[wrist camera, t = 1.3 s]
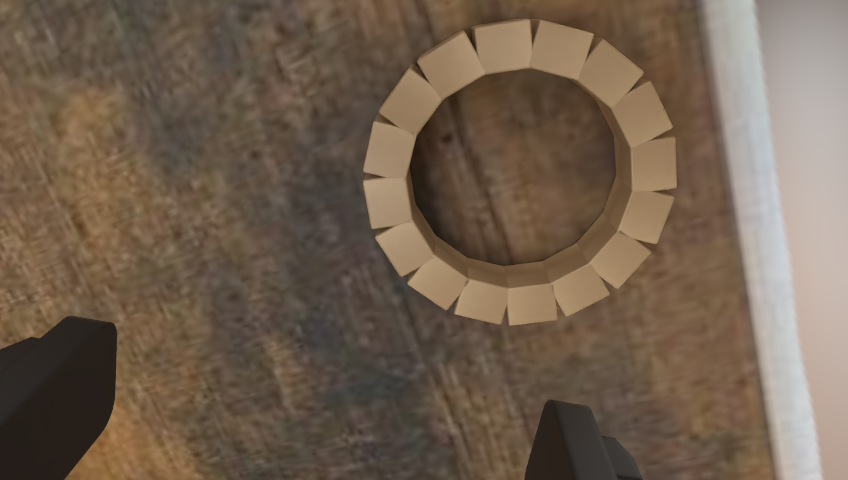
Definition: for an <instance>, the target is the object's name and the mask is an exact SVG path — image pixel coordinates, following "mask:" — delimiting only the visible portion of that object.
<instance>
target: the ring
mask: <svg viewBox="0 0 848 480" xmlns="http://www.w3.org/2000/svg"><path fill="white" fill-rule="evenodd" d="M471 32H472V40H473V45H472V43H471V42H470V40H469V38H468V36H467V34H466V33H465V32H464V31H463V30H460V31H459V32H457V33H455V34H454V35H452V36H451V37H449V38H447V39H446V40H444V41H443V42H441V43H439V44H438V45H436V46H435V47H433V48H431V49H430V50H428V51H427V52H425V53H423V54H422V55H420V56H419V58H418V60H417V63H418V65H419V66H420V68H421V69H420V68H418V67H417V66H416V65H415V64H411V65H410V66H409V68H408V69H407V70H406V72H405V73H404V75H403V76H402V77H401V79H400V80H399V82H398V83H397V84H396V86H395V87H394V89H393V90H392V91H391V93H390V94H389V96H388V97H387V99H386V100H385V101H384V103H383V104H382V106H381V108H380V109H379V114H378V115H377V117H376V119H375V120H374V122H373V126H372V131H371V135H370V139H369V144H368V148H367V153H366V157H365V162H364V166H363V172H365V173H366V175H365V178H364V180H363V187H364V192H365V198H366V203H367V209H368V214H369V220H370V225H371V228H372V229H378V230H377V233H376V237H375V238H376V240H377V242H378V243H379V245H380V246H381V248H382V249H383V251H384V252H385V254H386V255H387V257H388V259H389V260H390V262H391V263H392V265H393V266H394V268H395V269H396V271H397V272H398V274H399V275H400V276H401V277H403V276H405V275H407V274H408V282H407V284H408V285H409V286H411V287H412V288H414V289H415V290H417V291H418V292H420V293H421V294H422V295H424V296H425V297H427V298H428V299H430V300H431V301H433V302H434V303H436V304H437V305H438V306H440V307H441V308H443V309H444V310H448V308H449V307H450V306H451V305H452V304H453V302H454V313H455V314H456V315H460V316H464V317H469V318H473V319H477V320H481V321H485V322H490V323H494V324H498V325H500V324H501V323H502V320H503V317H504V314H505V311H506V313H507V318H508V322H509V325H510V326H512V325H520V324H528V323H537V322H545V321H553V320H557V319H558V315H557V304H556V301H557V303H558V304H559V306H560V308H561V310H562V311H563V313H564V315H565V316H566V317H568V316H570V315H572V314H574V313H576V312H577V311H579V310H581V309H583V308H585V307H587V306H589V305H591V304H593V303H595V302H597V301H599V300H601V299H603V298H605V297H607V296H609V295H610V293H609V291H608V289H607V287H606V285H605V283H604V282H603V280H602V278H603V279H604V280H605V281H607V282H608V283H609V284H611V285H612V286H613V287H615V288H616V289H619V287H620V286H621V285H622V284H623V283H624V282H625V281H626V280H627V279H628V278H629V277H630V276H631V274H632V273H633V272H634V271H635V270H636V269H637V268H638V267H639V266H640V265H641V264H642V263H643V261H644V260H645V259H646V258H647V257H648V256H649V255H650V254H651V251H650V250H649V249H648V247H647V246H646V245H645V244H644V243H643V242H642V241H644V242H648V243H652V244H657V242H658V240H659V237H660V234H661V232H662V229H663V227H664V224H665V222H666V219H667V217H668V214H669V211H670V209H671V206H672V204H673V201H674V199H675V197H674V196H672V195H671V194H670V193H669V192H667V191H666V190H667V189H674V188H676V187H677V179H676V140H675V137H674V136H672V135H670V134H668V133H667V132H666V131H668V130H670V129H671V128H672V124H671V122H670V119H669V117H668V115H667V113H666V111H665V109H664V107H663V105H662V103H661V101H660V99H659V97H658V94H657V92H656V90H655V88H654V86H653V84H652V82H651V81H650V80H647V79H643V78H641V76H642V75H643V73H644V72H643V71H642V70H641V69H640V68H639V67H637V66H636V65H635V64H634V63H633V62H631V61H630V60H629V59H628V58H627V57H625V56H624V55H623V54H622V53H620V52H619V51H618V50H617V49H616V48H614V47H613V46H612V45H611V44H610V43H608V42H607V41H606V40H605V39H600V38H594V37H593V36H594V34H593V33H590V32H587V31H583V30H579V29H575V28H572V27H568V26H564V25H560V24H557V23H553V22H549V21H545V20H541V19H531V21H530V19H523V18H519V19H513V20H506V21H500V22H493V23H487V24H481V25H474V26H472V27H471ZM528 68H531V69H535V70H539V71H543V72H547V73H550V74H554V75H558V76H562V77H566V78H569V79H570V80H571V81H573V82H574V83H575V84H576V85H578V86H579V87H580V88H581V89H583V90H584V91H585V92H586V93H588V94H589V95H590V96H591V97H593V98H594V99H595V100H596V102H597V104H598V106H599V108H600V110H601V112H602V114H603V115H604V117H605V119H606V121H607V123H608V125H609V127H610V129H611V131H612V133H613V135H614V148H615V166H616V177H615V180H614V182H613V185H612V188H611V191H610V194H609V196H608V199H607V202H606V205H605V208H604V210H603V213H602V214H601V215H600V216H599V217H598V219H597V220H596V221H595V222H594V223H593V224H592V225H591V227H590V228H589V229H588V230H587V231H586V232H585V234H584V235H583V236H582V237H581V238H580V239H579V240H578V242H577V243H575V244H573V245H571V246H570V247H568V248H566V249H564V250H562V251H560V252H558V253H556V254H555V255H553V256H551V257H549V258H547V259H545V260H543V261H540V262H532V263H524V264H516V265H509V266H500V265H496V264H492V263H488V262H484V261H480V260H475V259H471V258H467V257H465V256H464V255H463V254H461V253H460V252H458V251H457V250H456V249H454V248H453V247H451V246H450V245H449V244H447V243H446V242H444V241H443V240H442V239H440V238H439V237H437V236H436V235H435V234H434V232H433V231H432V229H431V227H430V226H429V224H428V223H427V221H426V219H425V218H424V216H423V215H422V213H421V211H420V210H419V208H418V207H417V205H416V203H415V198H414V192H413V186H412V179H411V173H410V167H409V165H410V161H411V157H412V153H413V149H414V145H415V141H416V137H417V135H418V133H419V132H420V131H421V129H422V128H423V127H424V125H425V124H426V123H427V121H428V120H429V119H430V117H431V116H432V115H433V113H434V112H435V110H436V109H437V108H438V106H439V105H440V104H441V102H442V101H443V100H444V99H445V98H447V97H449V96H450V95H452V94H454V93H455V92H457V91H459V90H460V89H462V88H463V87H465V86H467V85H468V84H470V83H472V82H473V81H475V80H477V79H478V78H480V77H482V76H483V75H488V74H495V73H502V72H508V71H515V70H522V69H528Z"/></svg>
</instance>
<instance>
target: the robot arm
mask: <svg viewBox="0 0 848 480" xmlns="http://www.w3.org/2000/svg"><path fill="white" fill-rule="evenodd" d="M116 350H117V331H116V327H115V325H114V324H113V323H111V322H105V321H99V320H93V319H88V318H82V317H76V316H68V317H66V318H64V319H63V320H62V321H61V322H59V323H58V324H57V325H56V326H55V327H53V328H52V329H51V330H50V331H48V332H47V333H46V334H45V335H44V336H42V337H41V338H34V337H30V338H28V339H25V340H23V341H20V342H18V343H15V344H13V345H10V346H8V347H6V348H3V349H1V350H0V480H64V479H65V478H66V477H67V475H68V474H69V473H70V472H71V470H72V469H73V468H74V467H75V465H76V464H77V463H78V462H79V460H80V459H81V458H82V457H83V455H84V454H85V453H86V452H87V450H88V449H89V448H90V447H91V445H92V444H93V443H94V442H95V440H96V439H97V438H98V437H99V435H100V434H101V433H102V432H103V430H104V429H105V427H106V425H107V423H108V421H109V418H110V416H111V413H112V410H113V406H114V400H115V381H116ZM525 480H643V479H642V477H641V474H640V472H639V470H638V467H637V465H636V463H635V461H634V458H633V457H632V456H631V455H630V454H629V453H628V452H627V451H626V450H625V449H624V448H623V447H622V445H621V444H620V443H619V442H618V441H617V440H616V439H615V438H612V437H606V436H601V434H600V432H599V429H598V426H597V424H596V421H595V418H594V416H593V413H592V411H591V409H590V407H589V406H585V405H579V404H573V403H568V402H562V401H556V400H548V401H547V402H546V404H545V406H544V409H543V412H542V416H541V419H540V423H539V426H538V430H537V433H536V437H535V440H534V444H533V447H532V451H531V454H530V458H529V461H528V465H527V468H526V473H525Z"/></svg>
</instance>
